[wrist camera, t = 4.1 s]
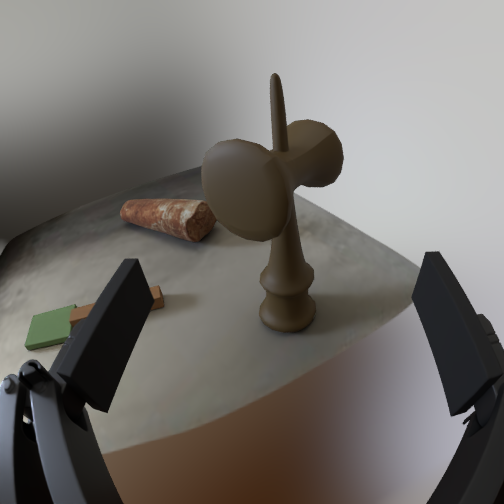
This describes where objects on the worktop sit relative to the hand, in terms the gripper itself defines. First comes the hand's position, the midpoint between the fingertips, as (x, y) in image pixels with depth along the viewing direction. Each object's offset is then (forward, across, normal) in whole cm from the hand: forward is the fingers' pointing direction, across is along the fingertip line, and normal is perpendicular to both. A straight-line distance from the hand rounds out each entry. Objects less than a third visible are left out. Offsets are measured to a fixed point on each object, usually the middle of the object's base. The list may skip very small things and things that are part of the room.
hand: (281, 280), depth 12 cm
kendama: (+8, 0, -12) cm, 14 cm away
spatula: (+6, -21, -12) cm, 25 cm away
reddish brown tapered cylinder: (+25, -19, -12) cm, 33 cm away
